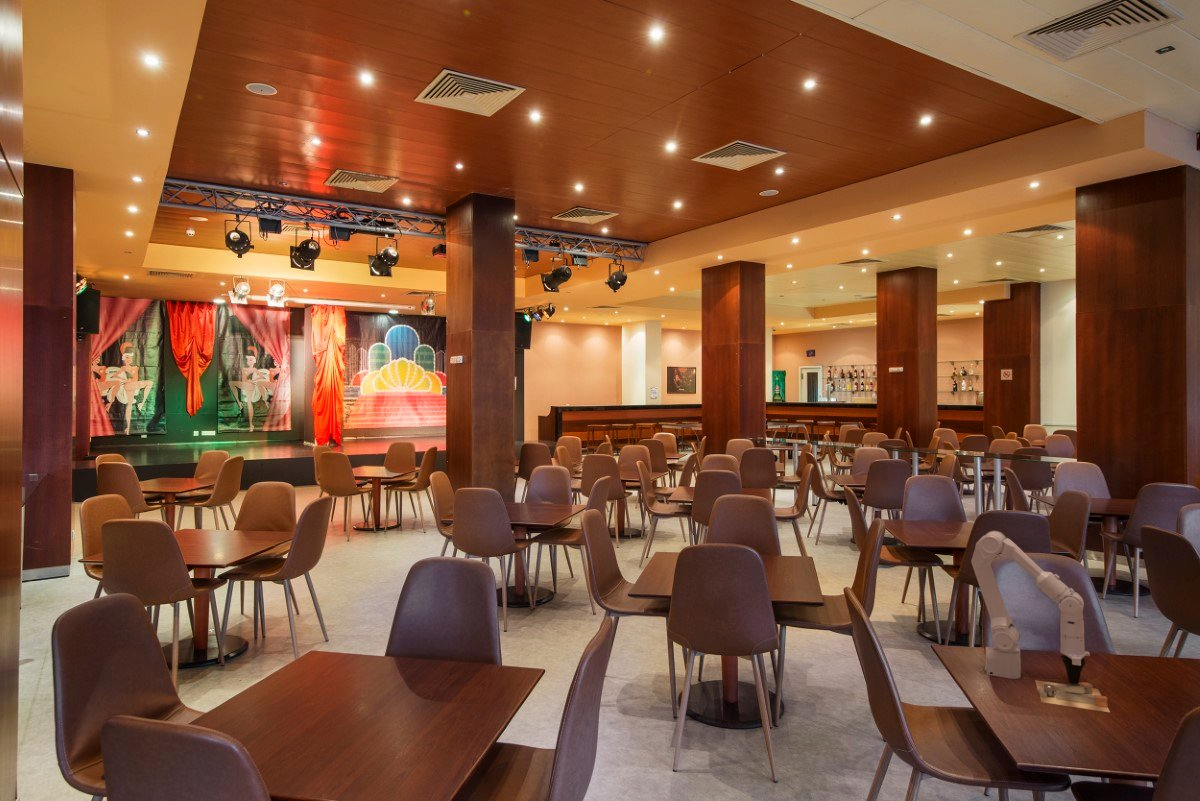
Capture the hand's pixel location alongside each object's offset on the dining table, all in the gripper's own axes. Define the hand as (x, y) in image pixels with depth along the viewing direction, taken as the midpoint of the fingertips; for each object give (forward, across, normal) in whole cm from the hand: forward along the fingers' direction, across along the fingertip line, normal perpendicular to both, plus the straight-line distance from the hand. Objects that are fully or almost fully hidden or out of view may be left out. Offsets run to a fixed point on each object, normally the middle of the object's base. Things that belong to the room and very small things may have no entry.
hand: (1073, 682), depth 202 cm
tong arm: (+1, -6, +1) cm, 6 cm away
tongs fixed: (+1, -11, +2) cm, 11 cm away
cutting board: (+2, -8, +2) cm, 8 cm away
